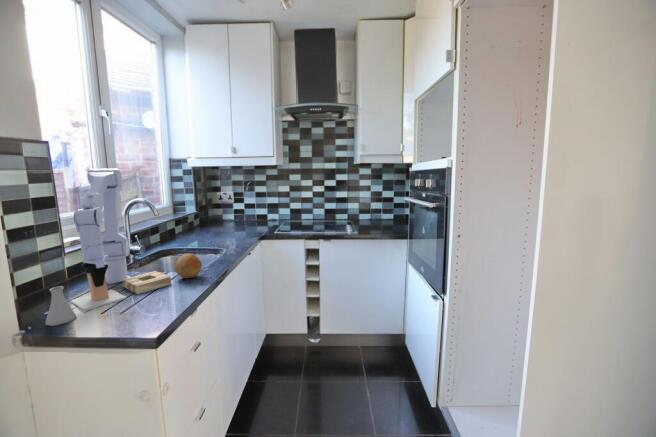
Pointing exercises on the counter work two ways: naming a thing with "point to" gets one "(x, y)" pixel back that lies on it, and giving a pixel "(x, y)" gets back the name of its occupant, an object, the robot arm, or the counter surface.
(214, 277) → the counter surface
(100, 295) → the peg
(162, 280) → the pocket block
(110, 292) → the mat
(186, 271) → the onion
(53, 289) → the flask
